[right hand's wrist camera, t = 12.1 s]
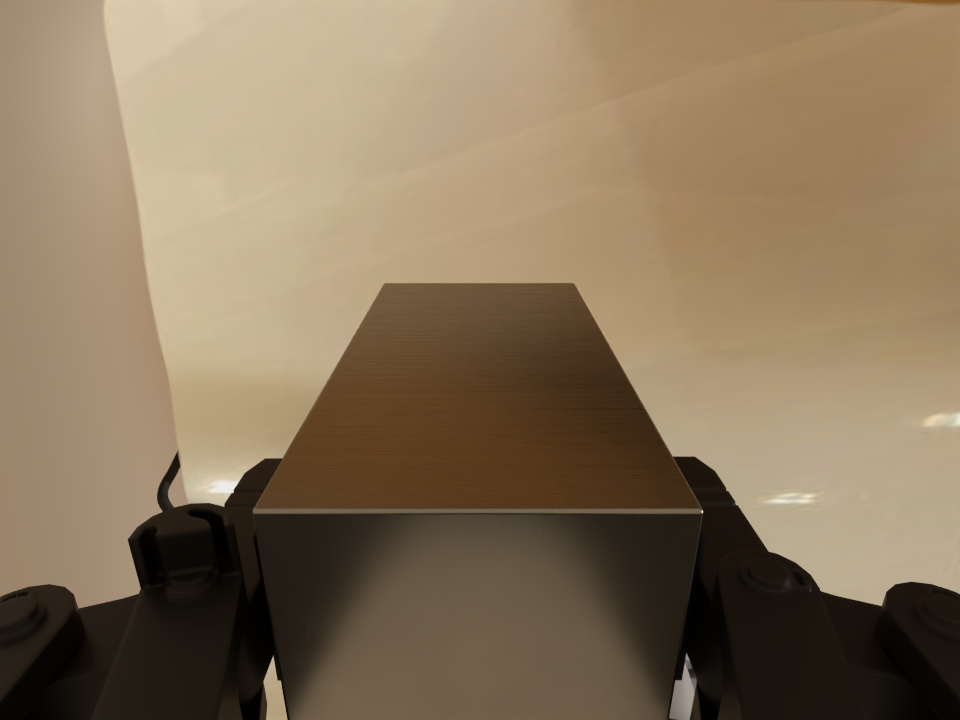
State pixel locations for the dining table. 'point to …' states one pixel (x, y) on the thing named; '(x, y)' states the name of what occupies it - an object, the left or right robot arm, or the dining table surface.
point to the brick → (478, 521)
